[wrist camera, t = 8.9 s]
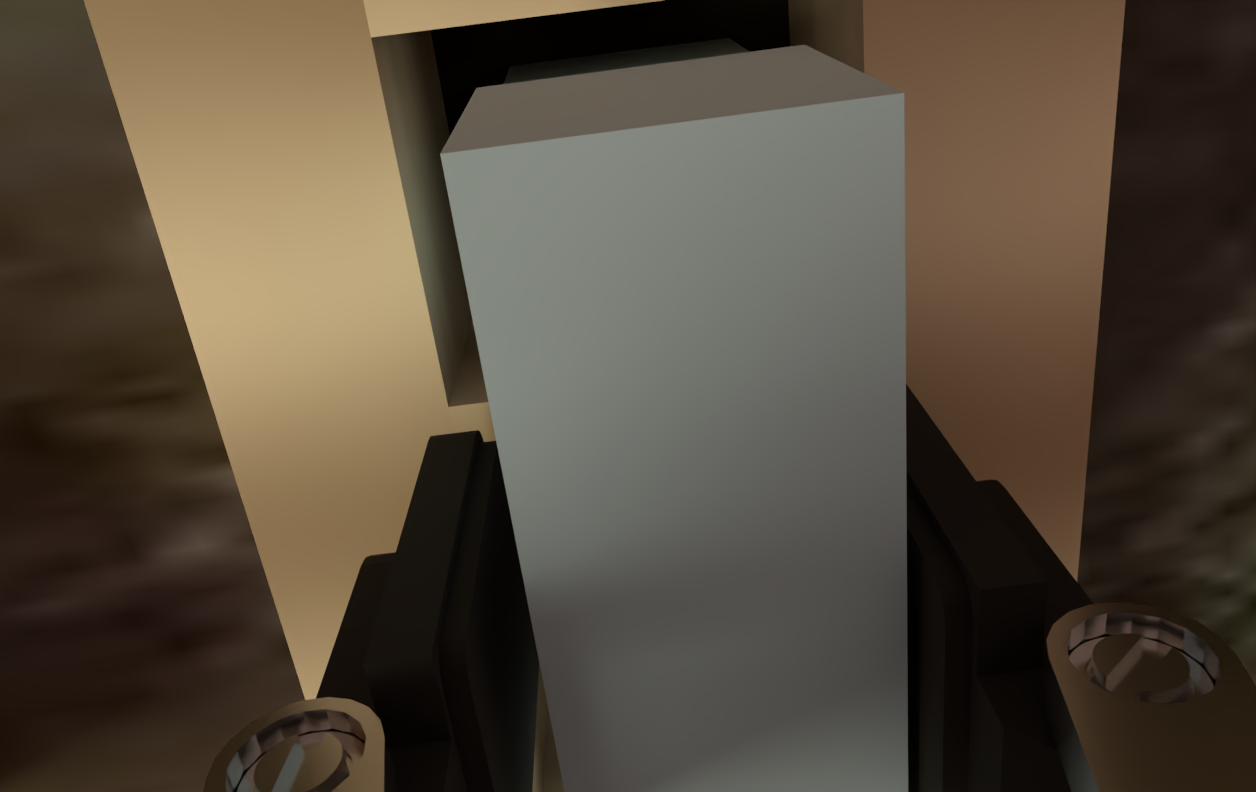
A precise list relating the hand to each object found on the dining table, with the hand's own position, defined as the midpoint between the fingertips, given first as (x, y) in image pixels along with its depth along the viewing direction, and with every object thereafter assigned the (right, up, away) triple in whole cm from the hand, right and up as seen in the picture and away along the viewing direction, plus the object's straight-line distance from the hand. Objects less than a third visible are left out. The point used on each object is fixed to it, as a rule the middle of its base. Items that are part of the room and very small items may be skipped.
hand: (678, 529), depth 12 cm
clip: (0, +2, +4) cm, 5 cm away
